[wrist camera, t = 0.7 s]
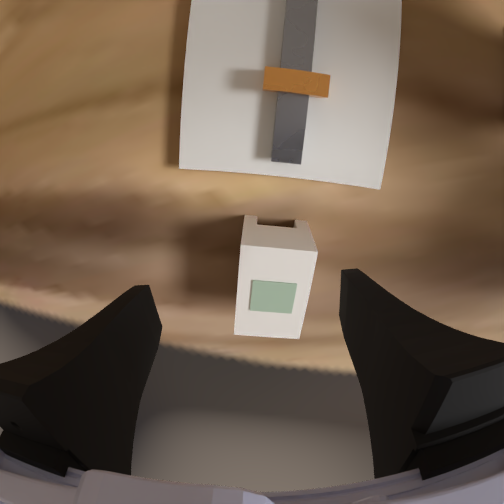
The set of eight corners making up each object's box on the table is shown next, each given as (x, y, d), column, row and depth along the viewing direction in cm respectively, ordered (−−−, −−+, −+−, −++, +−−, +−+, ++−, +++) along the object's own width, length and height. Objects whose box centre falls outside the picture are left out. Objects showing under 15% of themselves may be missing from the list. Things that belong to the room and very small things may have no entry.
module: (306, 220, 20) (318, 252, 16) (293, 297, 23) (299, 339, 19) (244, 214, 20) (240, 245, 16) (238, 293, 23) (233, 335, 19)
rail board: (392, -76, 10) (398, -83, 9) (373, 184, 19) (380, 189, 18) (214, -102, 10) (211, -110, 9) (183, 164, 19) (179, 168, 18)
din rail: (333, -93, 9) (339, -107, 8) (312, 163, 17) (318, 170, 16) (281, -100, 9) (283, -116, 8) (256, 156, 17) (255, 163, 16)
